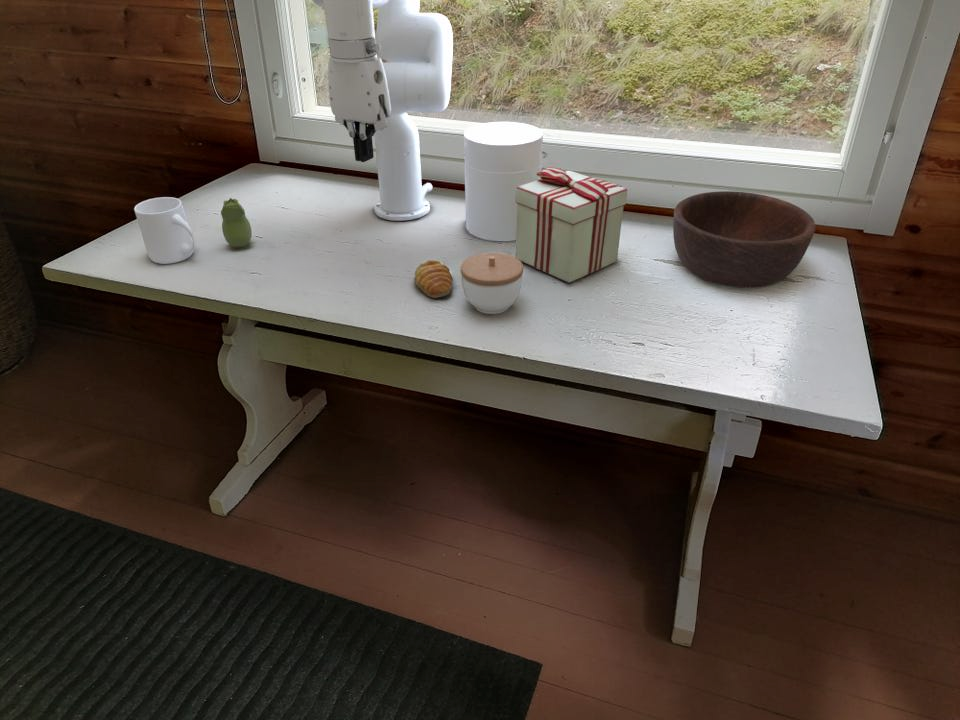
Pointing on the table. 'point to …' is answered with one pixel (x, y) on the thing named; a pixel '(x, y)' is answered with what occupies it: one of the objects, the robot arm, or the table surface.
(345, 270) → the table surface
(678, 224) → the wooden bowl
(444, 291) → the pastry
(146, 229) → the mug
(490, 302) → the trinket box
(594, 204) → the gift box
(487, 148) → the canister
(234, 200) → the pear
